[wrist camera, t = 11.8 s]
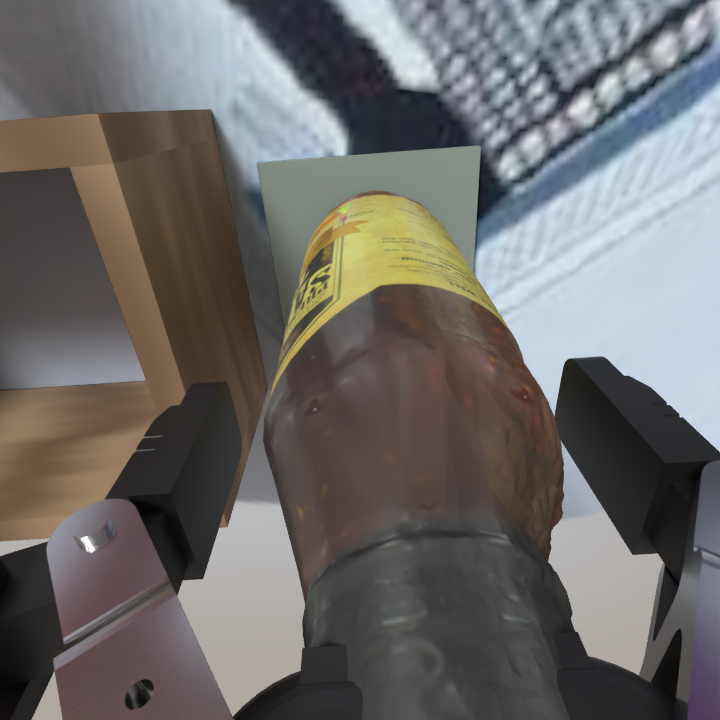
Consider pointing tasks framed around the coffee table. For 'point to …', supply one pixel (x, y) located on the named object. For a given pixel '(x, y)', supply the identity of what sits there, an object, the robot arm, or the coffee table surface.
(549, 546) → the sauce bottle
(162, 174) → the crate
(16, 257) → the coffee table surface
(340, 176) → the pad
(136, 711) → the robot arm
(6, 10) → the coffee table surface
